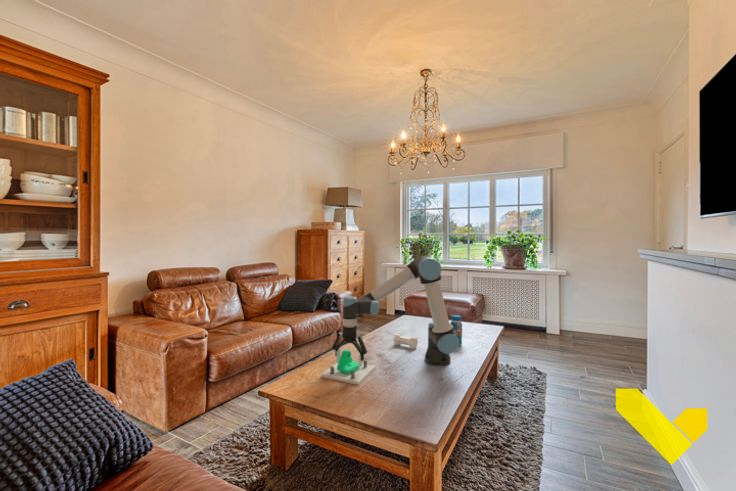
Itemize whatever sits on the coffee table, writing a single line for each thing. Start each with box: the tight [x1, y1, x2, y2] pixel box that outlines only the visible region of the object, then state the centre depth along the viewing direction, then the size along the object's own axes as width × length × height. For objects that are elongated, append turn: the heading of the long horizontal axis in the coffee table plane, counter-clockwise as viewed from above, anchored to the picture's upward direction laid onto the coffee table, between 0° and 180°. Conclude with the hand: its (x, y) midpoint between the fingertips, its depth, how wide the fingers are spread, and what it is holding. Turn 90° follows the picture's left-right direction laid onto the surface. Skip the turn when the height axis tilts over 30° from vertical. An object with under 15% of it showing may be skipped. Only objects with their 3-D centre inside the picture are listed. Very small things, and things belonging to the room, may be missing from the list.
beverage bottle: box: [449, 314, 463, 347], centre depth 233 cm, size 8×8×20 cm
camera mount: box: [337, 349, 359, 373], centre depth 184 cm, size 12×8×10 cm, turn 145°
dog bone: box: [392, 332, 419, 350], centre depth 228 cm, size 15×9×8 cm, turn 56°
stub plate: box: [320, 359, 377, 386], centre depth 184 cm, size 22×22×5 cm
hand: (349, 364), depth 184 cm, fingers open, 13 cm apart
